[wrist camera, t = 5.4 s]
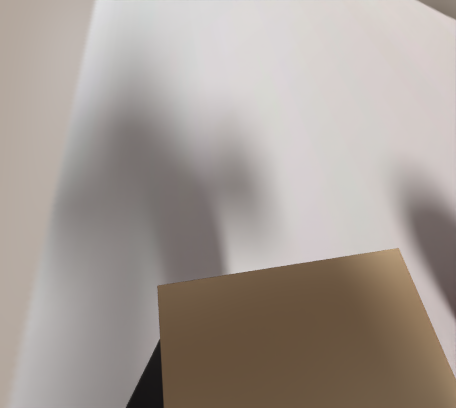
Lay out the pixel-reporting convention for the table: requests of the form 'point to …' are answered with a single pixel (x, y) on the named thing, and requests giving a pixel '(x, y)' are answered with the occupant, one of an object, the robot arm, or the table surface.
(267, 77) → the table surface
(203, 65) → the table surface
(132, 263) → the table surface
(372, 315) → the tall oak block
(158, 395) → the robot arm
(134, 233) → the table surface
